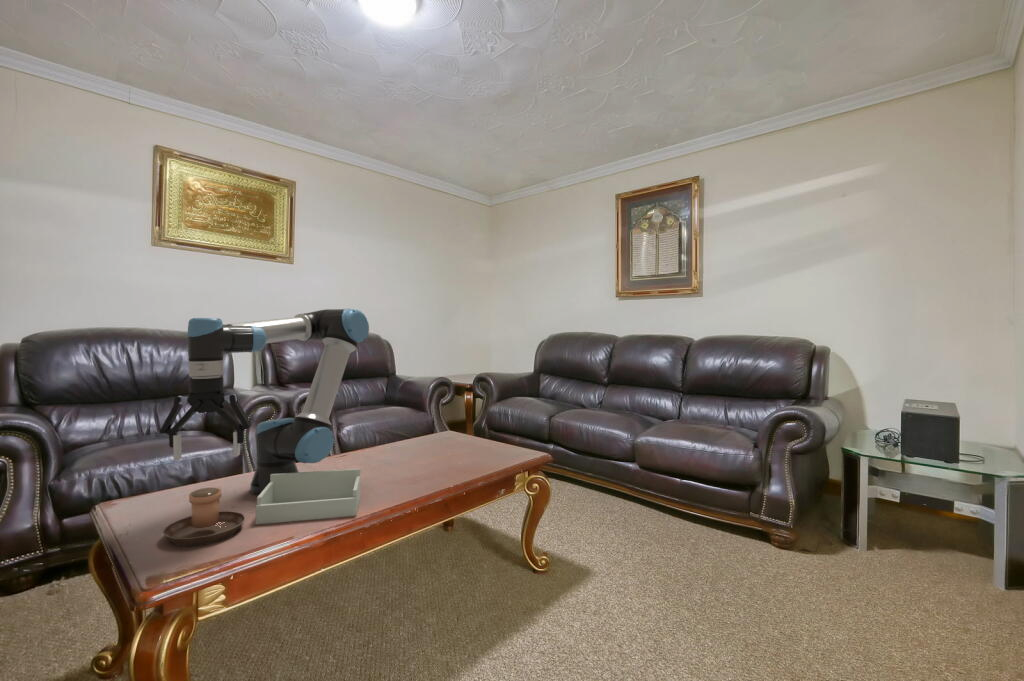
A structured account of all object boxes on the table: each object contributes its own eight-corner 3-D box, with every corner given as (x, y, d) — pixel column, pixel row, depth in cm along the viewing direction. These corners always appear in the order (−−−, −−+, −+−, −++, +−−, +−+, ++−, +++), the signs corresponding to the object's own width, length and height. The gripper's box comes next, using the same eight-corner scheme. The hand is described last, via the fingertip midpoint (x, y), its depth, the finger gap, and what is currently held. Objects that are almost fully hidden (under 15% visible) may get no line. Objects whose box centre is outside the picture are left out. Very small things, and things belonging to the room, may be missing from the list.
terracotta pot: (197, 516, 122) (197, 487, 121) (226, 515, 123) (226, 486, 122) (183, 529, 115) (183, 498, 114) (213, 528, 116) (213, 497, 115)
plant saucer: (236, 515, 131) (236, 505, 131) (252, 535, 118) (252, 524, 118) (158, 533, 119) (158, 522, 119) (167, 558, 106) (167, 545, 106)
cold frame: (271, 503, 140) (271, 474, 140) (360, 496, 147) (360, 468, 146) (255, 524, 125) (255, 491, 124) (356, 515, 131) (356, 484, 131)
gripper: (142, 379, 112) (144, 465, 113) (255, 377, 119) (256, 457, 120) (157, 376, 120) (159, 457, 120) (262, 374, 126) (264, 450, 127)
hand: (207, 457), depth 120 cm, fingers open, 13 cm apart
